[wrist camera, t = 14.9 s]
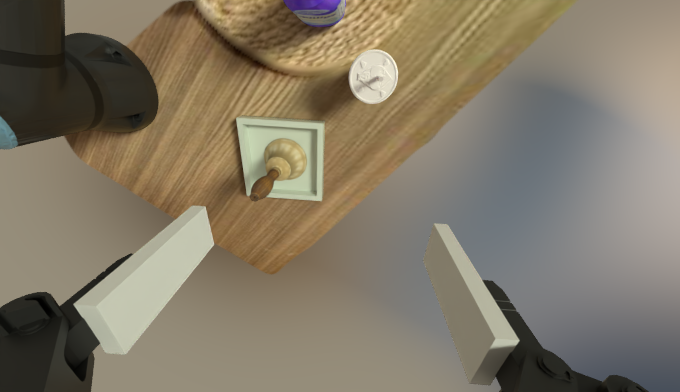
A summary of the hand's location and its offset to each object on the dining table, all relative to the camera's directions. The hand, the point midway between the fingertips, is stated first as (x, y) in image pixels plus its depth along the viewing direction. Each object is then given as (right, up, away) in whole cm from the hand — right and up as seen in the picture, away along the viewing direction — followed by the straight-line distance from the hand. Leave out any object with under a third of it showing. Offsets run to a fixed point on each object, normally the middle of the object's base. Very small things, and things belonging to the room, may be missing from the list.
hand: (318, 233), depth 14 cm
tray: (-9, +10, +32) cm, 35 cm away
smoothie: (+6, +22, +25) cm, 34 cm away
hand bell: (-9, +9, +32) cm, 35 cm away
